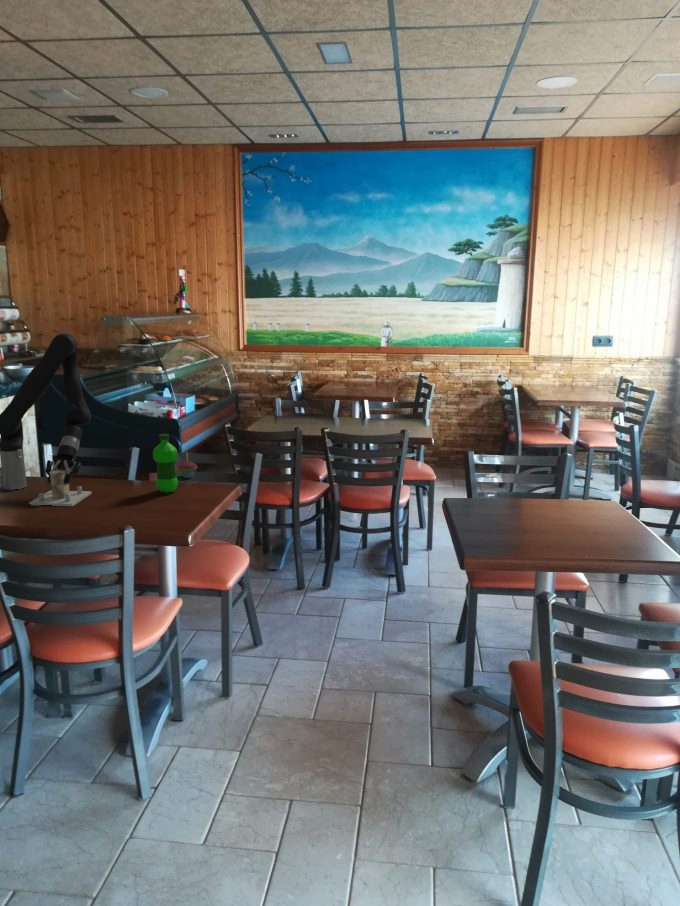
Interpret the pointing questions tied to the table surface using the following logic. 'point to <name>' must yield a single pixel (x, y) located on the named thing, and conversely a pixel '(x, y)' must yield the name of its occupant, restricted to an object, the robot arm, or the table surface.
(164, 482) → the plastic bottle
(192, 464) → the cupcake
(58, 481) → the birch block
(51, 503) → the peg plate
